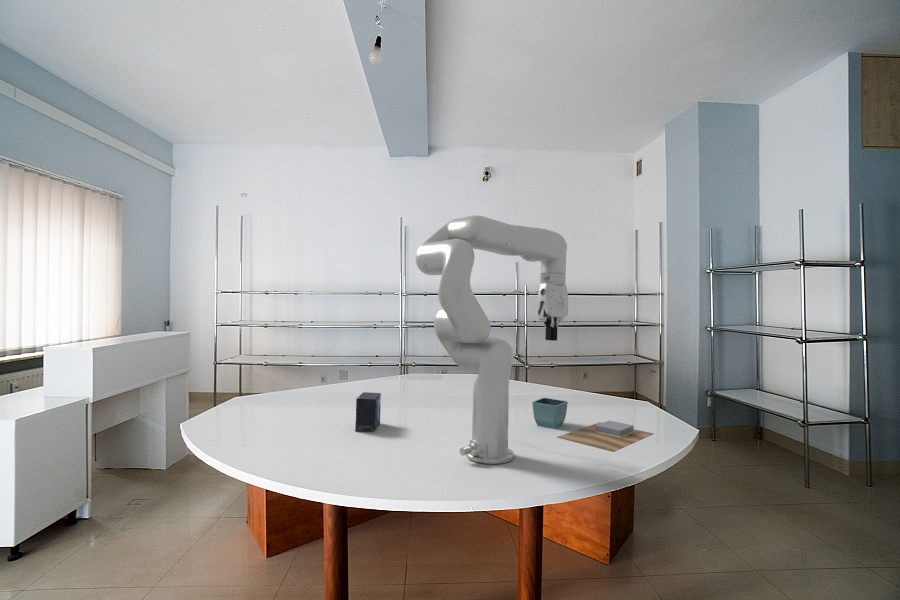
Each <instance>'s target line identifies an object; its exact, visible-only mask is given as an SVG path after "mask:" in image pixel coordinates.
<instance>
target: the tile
mask: <svg viewBox="0 0 900 600" xmlns="http://www.w3.org/2000/svg"><path fill="white" fill-rule="evenodd" d="M634 427H635V425H633V424H628V423H624V422H618V421H614V420H606V421H604V422H601V424H598V425H595V432H598V433H603V434H607V435H611V436H616V437H622V436H625V435H627V434H630V433H632V432H634V429H635V428H634Z"/></svg>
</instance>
